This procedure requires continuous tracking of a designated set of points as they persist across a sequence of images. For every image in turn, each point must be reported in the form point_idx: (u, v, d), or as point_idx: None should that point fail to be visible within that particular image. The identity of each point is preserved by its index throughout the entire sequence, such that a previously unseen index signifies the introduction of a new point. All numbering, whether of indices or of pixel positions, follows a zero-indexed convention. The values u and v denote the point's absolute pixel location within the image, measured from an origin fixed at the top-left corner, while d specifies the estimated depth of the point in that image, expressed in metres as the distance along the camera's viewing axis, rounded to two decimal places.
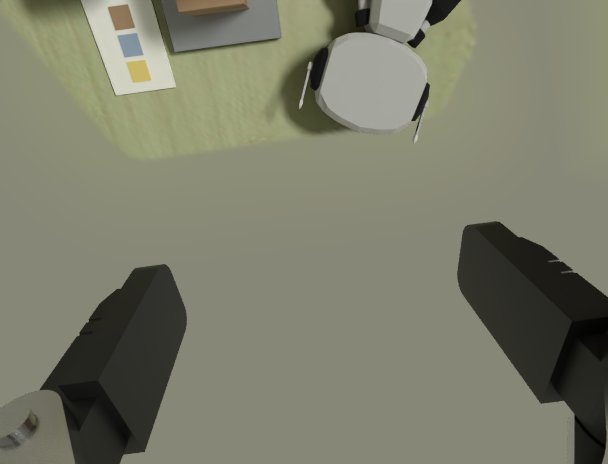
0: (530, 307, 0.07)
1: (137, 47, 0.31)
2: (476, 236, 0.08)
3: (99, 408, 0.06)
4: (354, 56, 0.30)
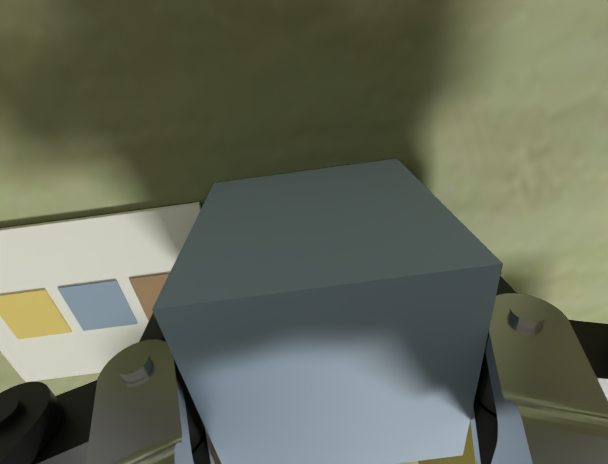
0: None
1: (100, 319, 0.11)
2: None
3: None
4: None
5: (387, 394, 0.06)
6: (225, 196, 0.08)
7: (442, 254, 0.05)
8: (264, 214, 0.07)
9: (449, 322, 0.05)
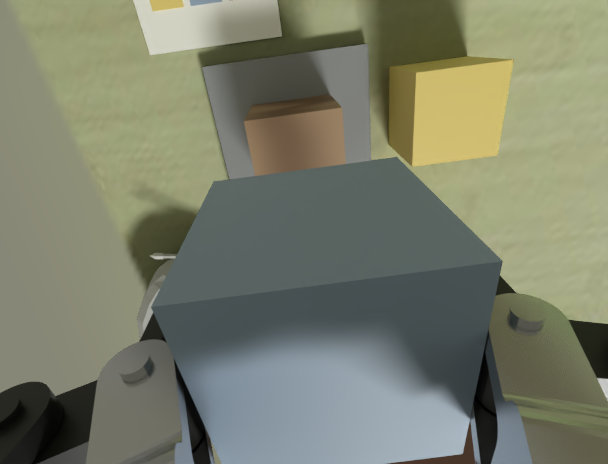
0: None
1: None
2: None
3: None
4: None
5: (387, 392, 0.06)
6: (225, 195, 0.08)
7: (442, 252, 0.05)
8: (264, 212, 0.07)
9: (449, 320, 0.05)
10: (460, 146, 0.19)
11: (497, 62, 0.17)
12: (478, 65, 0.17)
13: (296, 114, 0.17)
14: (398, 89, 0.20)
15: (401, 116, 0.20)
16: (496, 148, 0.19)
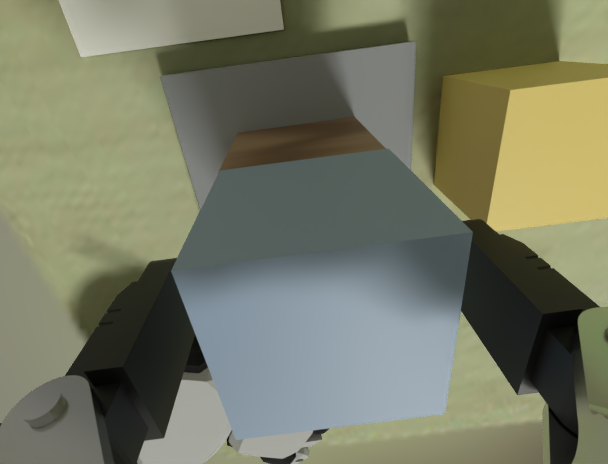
0: (507, 301, 0.07)
1: None
2: None
3: (123, 394, 0.06)
4: (199, 405, 0.18)
5: (376, 354, 0.07)
6: (231, 181, 0.09)
7: (422, 225, 0.06)
8: (267, 195, 0.08)
9: (428, 285, 0.06)
10: (563, 204, 0.12)
11: None
12: None
13: None
14: (461, 111, 0.13)
15: (466, 153, 0.13)
16: None
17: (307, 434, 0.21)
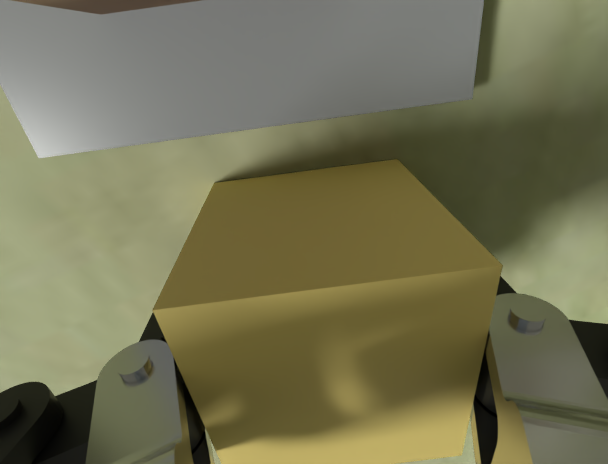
0: None
1: None
2: None
3: None
4: None
5: None
6: None
7: None
8: None
9: None
10: (245, 416, 0.06)
11: (462, 431, 0.07)
12: (469, 403, 0.06)
13: None
14: (374, 194, 0.07)
15: (311, 220, 0.07)
16: None
17: None
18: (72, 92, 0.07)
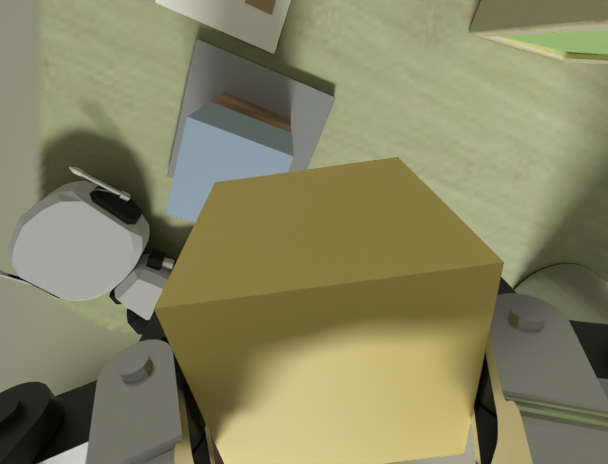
0: None
1: None
2: None
3: None
4: (113, 248, 0.26)
5: None
6: (215, 107, 0.18)
7: (280, 149, 0.16)
8: (229, 118, 0.17)
9: (273, 171, 0.16)
10: (247, 415, 0.06)
11: (464, 428, 0.07)
12: (471, 401, 0.06)
13: None
14: (375, 192, 0.07)
15: (311, 218, 0.07)
16: None
17: None
18: None
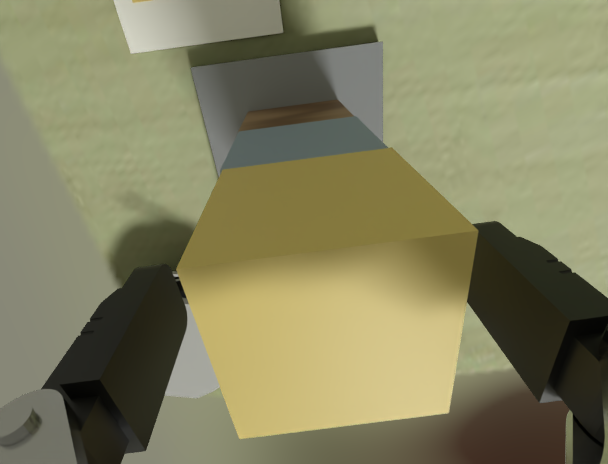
0: (528, 307, 0.07)
1: None
2: None
3: (101, 407, 0.06)
4: None
5: None
6: (247, 136, 0.13)
7: (362, 147, 0.10)
8: (272, 141, 0.12)
9: None
10: (254, 372, 0.07)
11: (448, 389, 0.08)
12: (453, 361, 0.07)
13: None
14: (370, 177, 0.08)
15: (313, 198, 0.07)
16: (257, 433, 0.08)
17: None
18: None
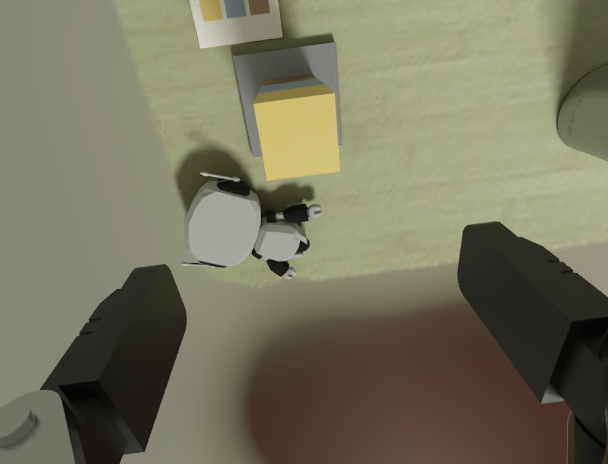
0: (530, 307, 0.07)
1: (233, 13, 0.31)
2: (476, 236, 0.08)
3: (99, 408, 0.06)
4: (243, 216, 0.37)
5: None
6: (265, 86, 0.28)
7: (314, 85, 0.25)
8: (277, 86, 0.27)
9: None
10: (273, 146, 0.22)
11: (338, 159, 0.23)
12: (337, 145, 0.22)
13: None
14: (312, 89, 0.23)
15: (292, 93, 0.22)
16: (273, 177, 0.23)
17: (295, 243, 0.40)
18: None
